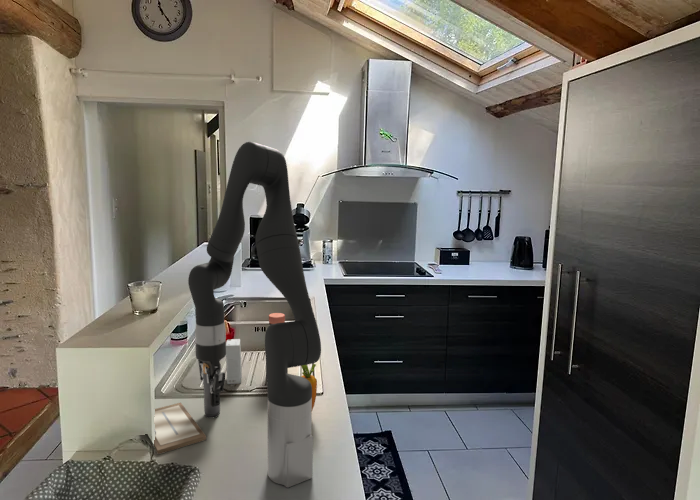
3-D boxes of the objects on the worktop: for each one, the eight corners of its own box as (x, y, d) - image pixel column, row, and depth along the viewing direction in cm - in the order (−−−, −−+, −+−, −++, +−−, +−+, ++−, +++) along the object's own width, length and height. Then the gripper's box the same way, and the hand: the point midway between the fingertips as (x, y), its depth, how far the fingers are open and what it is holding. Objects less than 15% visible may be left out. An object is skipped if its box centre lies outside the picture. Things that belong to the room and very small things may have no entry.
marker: (223, 415, 126) (222, 364, 124) (207, 419, 124) (206, 368, 122) (217, 408, 130) (216, 359, 127) (201, 413, 127) (200, 362, 125)
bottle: (276, 370, 155) (276, 310, 152) (292, 375, 152) (292, 314, 148) (261, 377, 150) (260, 315, 147) (277, 383, 146) (277, 319, 143)
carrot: (316, 412, 129) (317, 359, 126) (316, 422, 124) (316, 367, 121) (298, 412, 129) (298, 359, 126) (296, 422, 124) (297, 367, 121)
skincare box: (241, 383, 145) (240, 345, 143) (226, 384, 144) (225, 346, 142) (242, 375, 151) (241, 338, 149) (227, 376, 150) (226, 338, 148)
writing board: (206, 439, 115) (205, 432, 114) (157, 454, 108) (156, 447, 108) (180, 405, 131) (180, 399, 130) (136, 417, 124) (136, 410, 124)
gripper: (235, 344, 120) (236, 409, 123) (214, 329, 131) (216, 388, 134) (205, 350, 115) (207, 417, 118) (187, 333, 127) (189, 394, 130)
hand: (212, 401), depth 126 cm, fingers open, 4 cm apart
